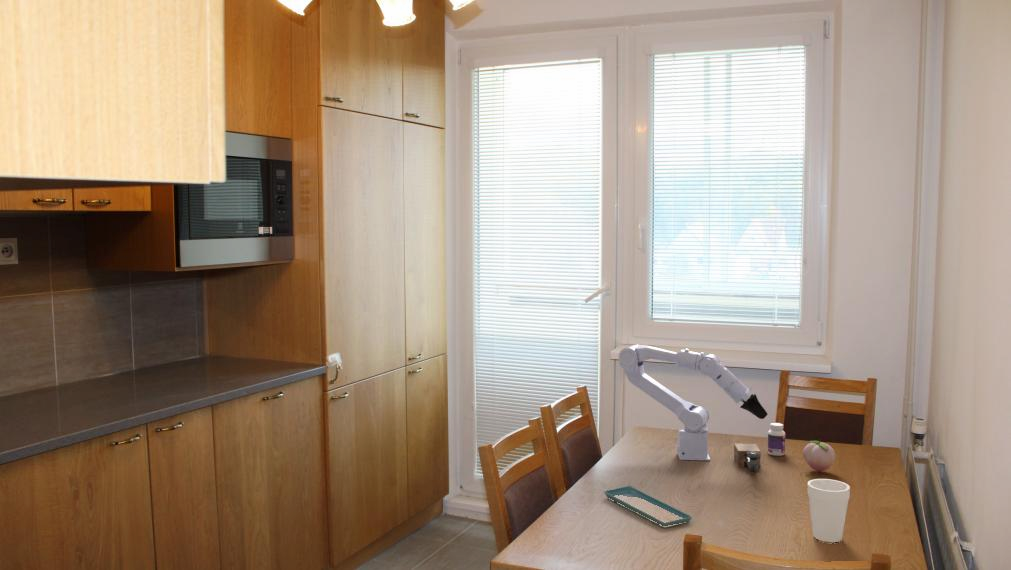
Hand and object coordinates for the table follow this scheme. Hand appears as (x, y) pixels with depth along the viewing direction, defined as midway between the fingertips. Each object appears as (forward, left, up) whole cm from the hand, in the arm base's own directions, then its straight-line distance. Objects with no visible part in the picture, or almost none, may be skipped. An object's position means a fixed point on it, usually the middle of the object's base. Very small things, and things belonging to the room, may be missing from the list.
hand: (764, 416), depth 250 cm
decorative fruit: (+15, -5, -15) cm, 22 cm away
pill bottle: (+6, +13, -15) cm, 21 cm away
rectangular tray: (-38, -42, -16) cm, 59 cm away
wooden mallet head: (-5, +2, -15) cm, 16 cm away
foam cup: (+4, -57, -15) cm, 60 cm away
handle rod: (-5, -3, -14) cm, 15 cm away
